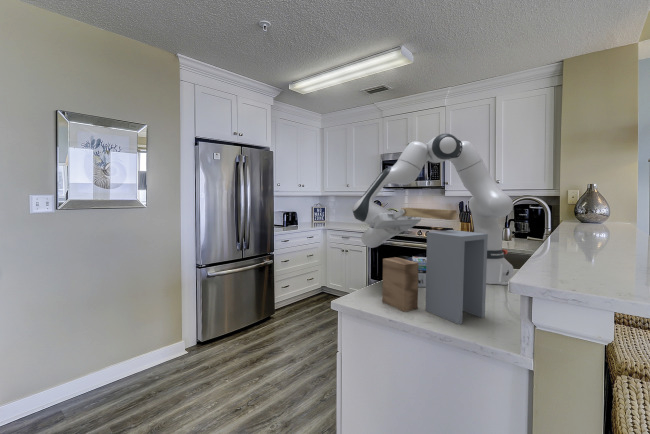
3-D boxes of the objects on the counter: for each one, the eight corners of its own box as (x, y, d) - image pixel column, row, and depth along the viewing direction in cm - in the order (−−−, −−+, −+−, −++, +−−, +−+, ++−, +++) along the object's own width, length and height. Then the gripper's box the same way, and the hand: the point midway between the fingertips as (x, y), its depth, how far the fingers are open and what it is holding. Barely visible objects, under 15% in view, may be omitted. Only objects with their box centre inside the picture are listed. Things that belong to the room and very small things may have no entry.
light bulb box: (430, 287, 131) (430, 261, 130) (413, 286, 132) (413, 261, 132) (427, 280, 141) (427, 256, 141) (411, 280, 143) (411, 256, 142)
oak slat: (407, 215, 122) (407, 207, 122) (456, 219, 103) (456, 210, 102) (400, 215, 120) (400, 207, 120) (448, 219, 101) (449, 210, 101)
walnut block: (395, 299, 117) (396, 257, 116) (417, 308, 107) (418, 262, 106) (382, 301, 114) (382, 258, 113) (403, 311, 104) (404, 264, 103)
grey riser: (450, 304, 111) (452, 229, 109) (484, 316, 100) (487, 234, 98) (425, 310, 105) (427, 231, 103) (458, 324, 94) (461, 236, 92)
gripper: (364, 220, 126) (384, 203, 115) (404, 218, 135) (426, 202, 124) (369, 235, 123) (390, 219, 112) (409, 232, 133) (432, 217, 122)
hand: (409, 210), depth 118 cm, fingers closed on oak slat, 3 cm apart
